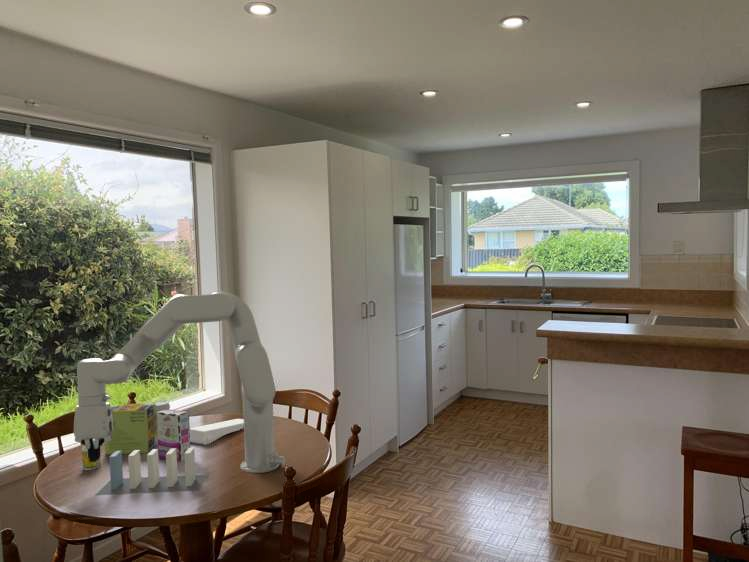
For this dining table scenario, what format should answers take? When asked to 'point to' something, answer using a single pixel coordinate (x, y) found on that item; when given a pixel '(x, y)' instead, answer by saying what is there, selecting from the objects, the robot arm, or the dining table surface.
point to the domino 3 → (171, 467)
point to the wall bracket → (214, 431)
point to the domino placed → (116, 469)
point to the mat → (160, 487)
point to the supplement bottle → (86, 463)
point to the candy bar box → (173, 432)
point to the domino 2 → (153, 468)
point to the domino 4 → (190, 466)
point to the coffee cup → (161, 406)
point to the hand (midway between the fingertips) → (94, 460)
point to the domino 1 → (134, 469)
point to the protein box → (133, 428)
